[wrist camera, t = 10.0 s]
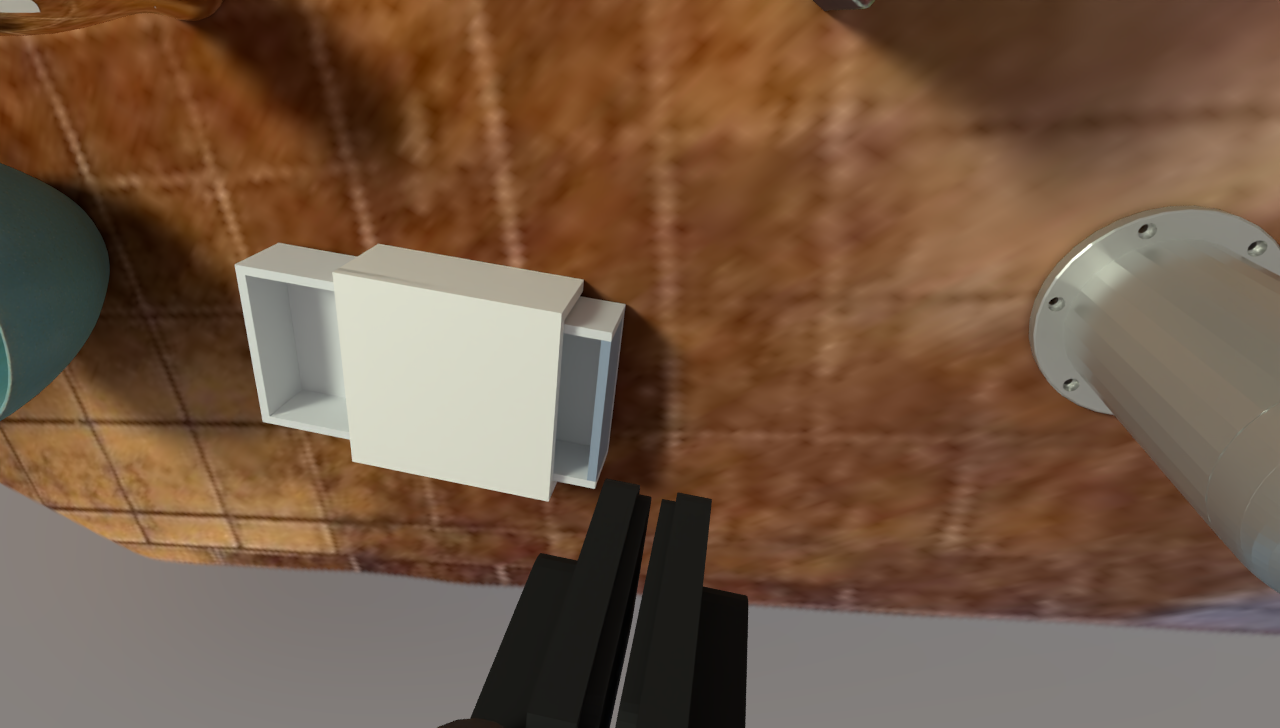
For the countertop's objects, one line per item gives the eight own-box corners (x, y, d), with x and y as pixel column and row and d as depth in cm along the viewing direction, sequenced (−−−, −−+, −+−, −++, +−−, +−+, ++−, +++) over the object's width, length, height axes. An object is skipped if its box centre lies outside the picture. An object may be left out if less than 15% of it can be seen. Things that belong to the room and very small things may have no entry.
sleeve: (584, 279, 44) (561, 313, 39) (569, 454, 50) (548, 501, 46) (378, 243, 45) (332, 272, 40) (390, 419, 52) (352, 461, 47)
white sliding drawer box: (625, 304, 44) (612, 332, 40) (608, 451, 49) (594, 489, 46) (278, 242, 46) (234, 264, 42) (300, 391, 52) (262, 421, 48)
